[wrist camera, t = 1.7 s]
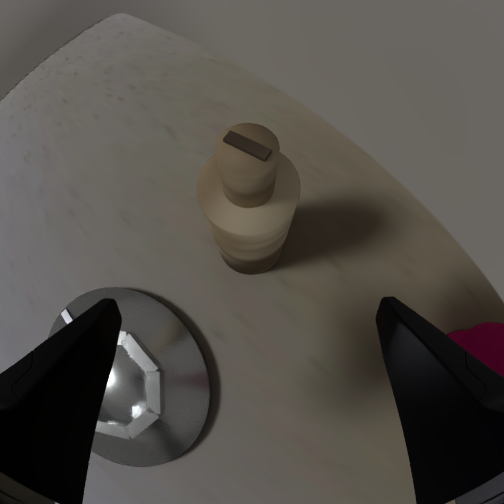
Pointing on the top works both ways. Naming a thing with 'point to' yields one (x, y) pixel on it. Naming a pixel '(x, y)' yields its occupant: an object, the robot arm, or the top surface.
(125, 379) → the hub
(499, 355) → the pepper mill
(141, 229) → the top surface
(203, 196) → the knob
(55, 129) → the top surface
